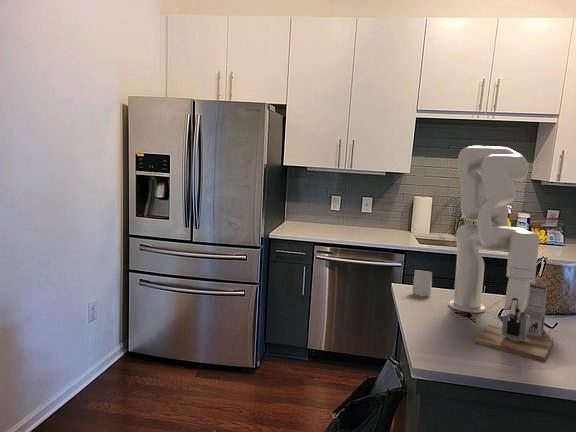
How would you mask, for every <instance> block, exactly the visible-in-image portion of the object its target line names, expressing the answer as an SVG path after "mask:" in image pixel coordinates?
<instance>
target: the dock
mask: <svg viewBox="0 0 576 432" xmlns="http://www.w3.org/2000/svg"><path fill="white" fill-rule="evenodd" d="M484 328H485V329H483V330H482V331H481V332H480V333H479V334H478V335H477V336H476V337H475V339H474V343H475V344H478V345H481V346H486V347H489V348H493V349H496V350H499V351H503V352H508V353H510V354H515V355H519V356H522V357H526V358H530V359H533V360H537V361H541V362H545V361H546V358H547V357H548V354H549V352H550V350H551V349H552V346H553V343H554V339H549V338H547V337H546V338H545V337H542V336H541V337H540V336H535V335H531V334H528V336H527V337H526V338H525V340H521V339H517V338H513V337H509V336H505V335H502V327H500V326H496V325H492V324H488V325H487V326H486V327H484Z"/></svg>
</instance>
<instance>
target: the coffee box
mask: <svg viewBox="0 0 576 432" xmlns="http://www.w3.org/2000/svg"><path fill="white" fill-rule="evenodd" d="M548 287H549V281H546V280H545V281H543V280H540V279H535V280H534V281H531V284H530V295H529V302H528V307H527V308H526V310H525V314H526V315H530V321H529V331H528V334H529V335H534V336H538V337H542V335H543V332H544V328H545V319H546V310H547V309H546V307H547V301H548V293H549V292H548V291H549V288H548Z"/></svg>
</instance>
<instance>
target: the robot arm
mask: <svg viewBox="0 0 576 432" xmlns="http://www.w3.org/2000/svg"><path fill="white" fill-rule="evenodd" d="M456 163H457V166H456V167H457V171H458V172H457V173H458V175H459V178H460V179H459V180H460V215H461V216H462V218H463V219H464V220H467V221H475V222H477V223H475V224H474V223H469V224H464V225H461V226H459V227H458V228H457V230H456V232H455V233H456V234H455V240H456V266H455V278H454V279H455V280H454V289H453V290H454V292H453V299H452V300H450V301H448V306H449V307H450V308H451V309H454V310H457V311H460V312H463V313H464V312H465V313H474V314H479V313H483V312H485V310H486V306H485V305H484V304H482V296H483V286H484V285H483V284H484V276H485V275H484V274H485V273H484V272H485V262H484V258H483V256H482V255H481V254H480V252H479V251H487V252H488V251H491V252H495V251H496V252H501V251H502V252H508V253H507V254H508V255H507V266H506V275H505V276H506V277H507V278H508V280H507V286H506V292H505V293H506V294H505V301H504V307H503V309H504V310H505V311H506V312H507V311H509V317H508V324H507V334H510V335H514V336H519V331H520V323H519V320H520V314H521V313H522V314H525V310H526V308H527V307H528V302H529V295H530V284H531V281H534V280H536V274H537V265H538V255H539V245H540V235H539V234H538V233H536V232H534V231H529V230H527V229H526V228H523V227H517V226H508V225H509V224H508V223H509V215H508V214H509V210H508V208H509V207H508V204H511V203H512V202H513V201H514V200H516V196H517V193H516V189H515V185H514V181H522V180H524V179H525V178H527V176H528V173H529V163H528V160H527V159H526V158H525V157H524V155H522V154H521V153H520V152H517V151H515V150H513V149H511V148H509V147H507V146H506V147H505V146H489V145H487V146H486V145H485V146H483V145H472V146H467V147H464V148H462V149H461V150H460V152H459V153H458V156H457V162H456ZM479 171H481V172H479ZM515 314H518V316H517V315H515Z"/></svg>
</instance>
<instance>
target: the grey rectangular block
mask: <svg viewBox="0 0 576 432" xmlns="http://www.w3.org/2000/svg"><path fill="white" fill-rule="evenodd" d="M432 284H433V271H426V270H425V271H424V270H421V269H420V270H417V269H414V276H413V281H412V294H417V295H416V296H418V295H423V296H422V297H425V296H428V297H427V298H430V297H431V296H432ZM430 295H431V296H430Z"/></svg>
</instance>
